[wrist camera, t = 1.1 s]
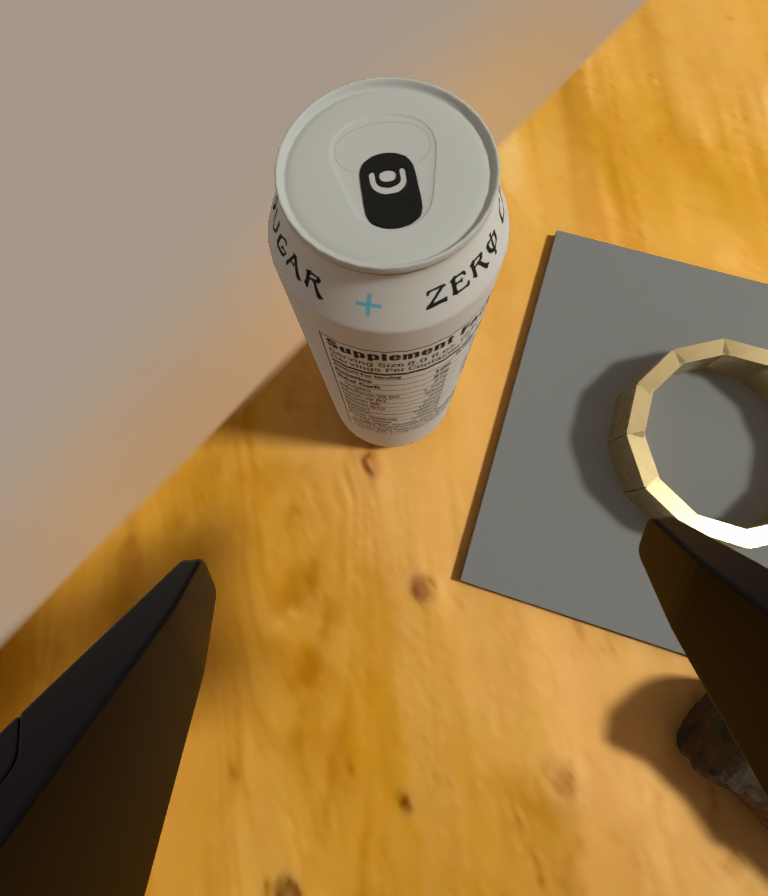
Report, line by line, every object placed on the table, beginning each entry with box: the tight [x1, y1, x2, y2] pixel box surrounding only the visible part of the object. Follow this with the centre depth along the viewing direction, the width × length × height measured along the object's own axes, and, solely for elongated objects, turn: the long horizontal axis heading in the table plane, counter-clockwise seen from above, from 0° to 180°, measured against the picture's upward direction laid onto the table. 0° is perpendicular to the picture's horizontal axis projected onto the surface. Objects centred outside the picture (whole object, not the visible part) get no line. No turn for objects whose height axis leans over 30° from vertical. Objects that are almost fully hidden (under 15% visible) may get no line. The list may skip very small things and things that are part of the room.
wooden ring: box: [607, 338, 768, 549], centre depth 22 cm, size 10×10×2 cm
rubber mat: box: [460, 230, 768, 655], centre depth 23 cm, size 20×20×1 cm
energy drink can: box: [268, 77, 510, 447], centre depth 17 cm, size 6×6×15 cm
